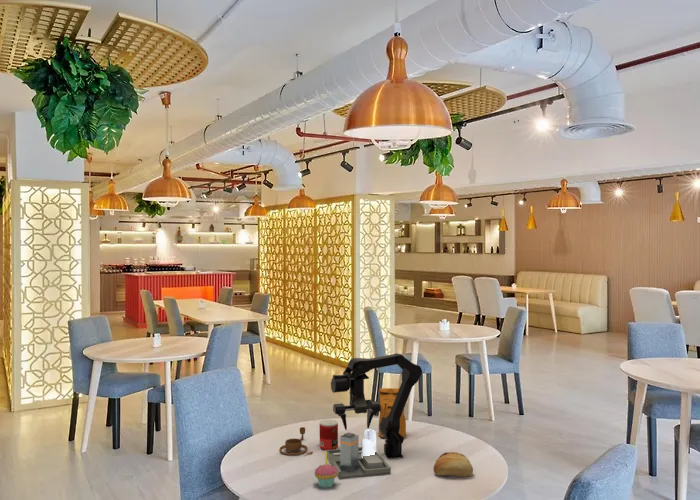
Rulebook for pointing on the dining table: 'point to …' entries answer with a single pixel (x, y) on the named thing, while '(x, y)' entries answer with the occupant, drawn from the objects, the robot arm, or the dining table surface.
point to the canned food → (328, 434)
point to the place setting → (295, 445)
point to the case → (360, 465)
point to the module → (349, 452)
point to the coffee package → (390, 407)
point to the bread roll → (453, 465)
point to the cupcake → (326, 474)
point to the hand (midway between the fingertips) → (356, 428)
